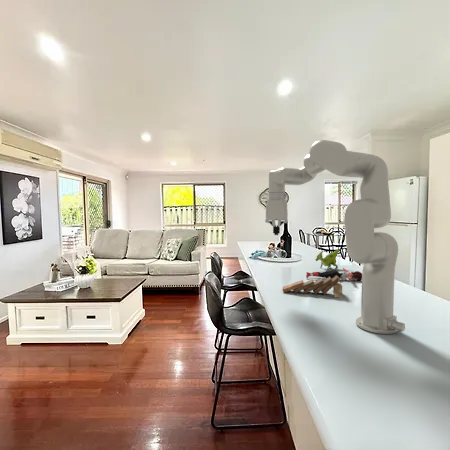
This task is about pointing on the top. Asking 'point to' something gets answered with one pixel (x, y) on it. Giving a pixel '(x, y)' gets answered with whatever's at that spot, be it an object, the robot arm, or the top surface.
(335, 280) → the domino
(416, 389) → the top surface
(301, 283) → the domino
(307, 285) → the domino
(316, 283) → the domino
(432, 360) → the top surface
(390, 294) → the robot arm
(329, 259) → the toy
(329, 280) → the domino
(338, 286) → the end block
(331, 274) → the toy
